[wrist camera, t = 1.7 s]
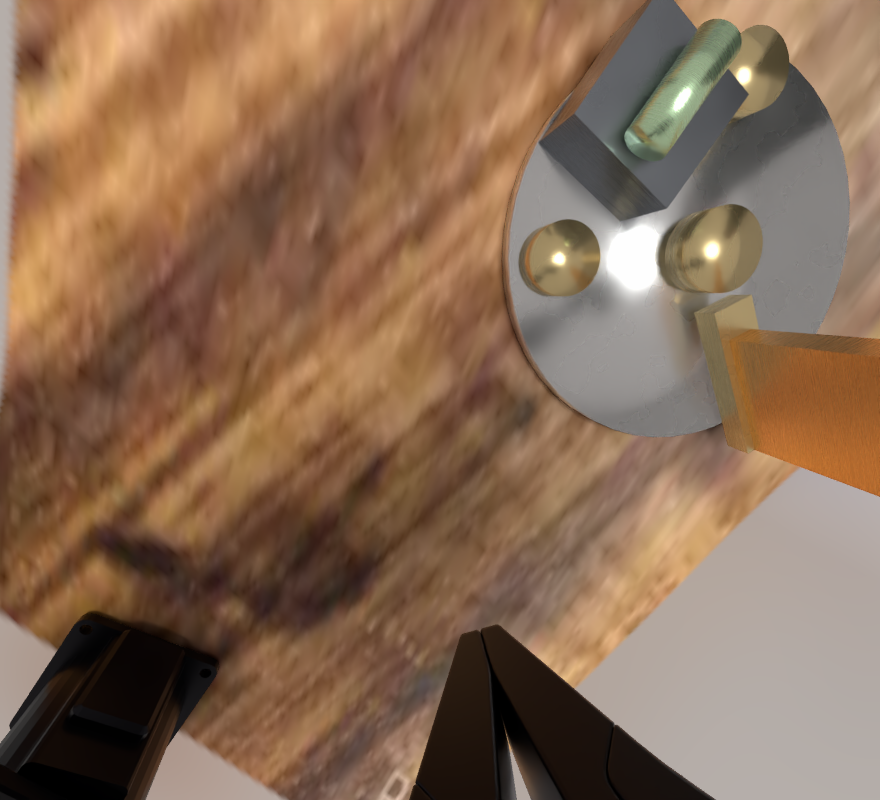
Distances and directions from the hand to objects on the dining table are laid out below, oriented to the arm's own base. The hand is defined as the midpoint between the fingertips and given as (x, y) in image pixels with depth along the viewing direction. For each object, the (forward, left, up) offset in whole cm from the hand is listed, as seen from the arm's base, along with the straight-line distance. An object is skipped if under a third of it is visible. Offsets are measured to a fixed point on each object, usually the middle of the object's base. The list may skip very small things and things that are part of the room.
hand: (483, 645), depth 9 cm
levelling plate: (+15, -6, -12) cm, 20 cm away
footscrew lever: (+13, -9, -11) cm, 19 cm away
